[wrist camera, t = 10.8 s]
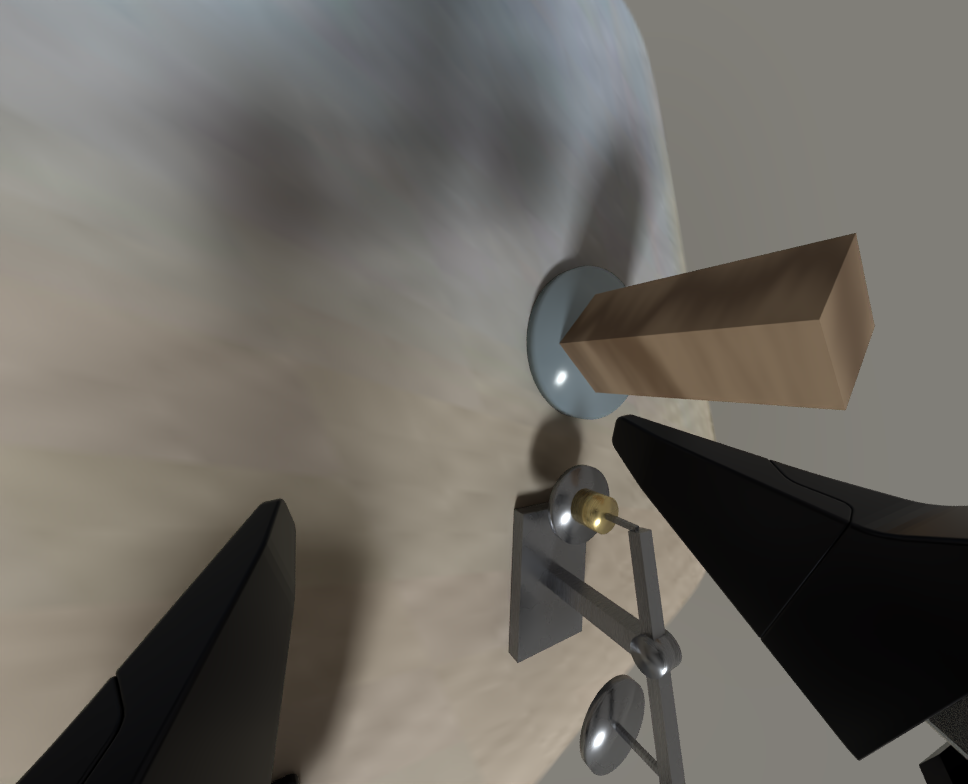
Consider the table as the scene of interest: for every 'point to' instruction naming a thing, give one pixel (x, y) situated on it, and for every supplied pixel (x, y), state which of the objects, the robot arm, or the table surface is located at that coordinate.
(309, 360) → the table surface
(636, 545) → the balance
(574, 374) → the slate dish
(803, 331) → the walnut block
